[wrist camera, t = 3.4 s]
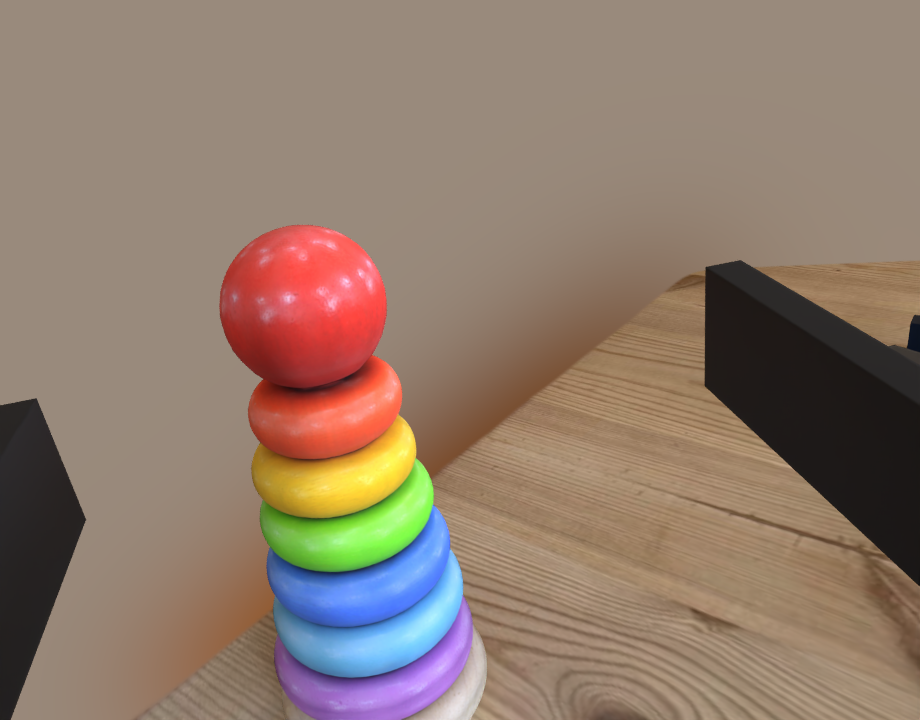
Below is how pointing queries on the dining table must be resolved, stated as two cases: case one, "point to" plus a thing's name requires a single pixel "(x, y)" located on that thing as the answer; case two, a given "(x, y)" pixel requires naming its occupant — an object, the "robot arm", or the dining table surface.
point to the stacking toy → (345, 493)
